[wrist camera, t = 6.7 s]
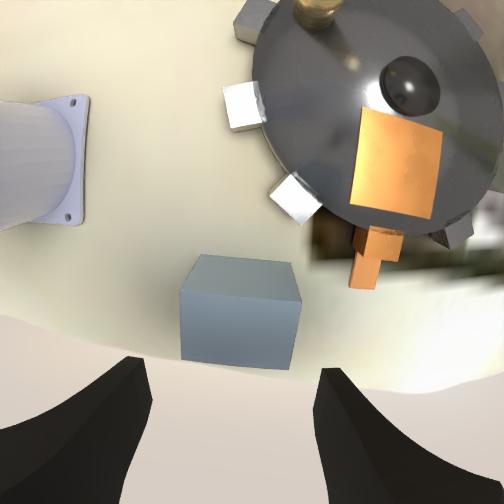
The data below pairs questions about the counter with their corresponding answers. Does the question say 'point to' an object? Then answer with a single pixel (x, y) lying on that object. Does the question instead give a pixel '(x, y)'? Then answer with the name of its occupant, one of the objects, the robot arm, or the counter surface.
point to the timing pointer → (364, 272)
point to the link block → (239, 312)
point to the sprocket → (374, 114)
